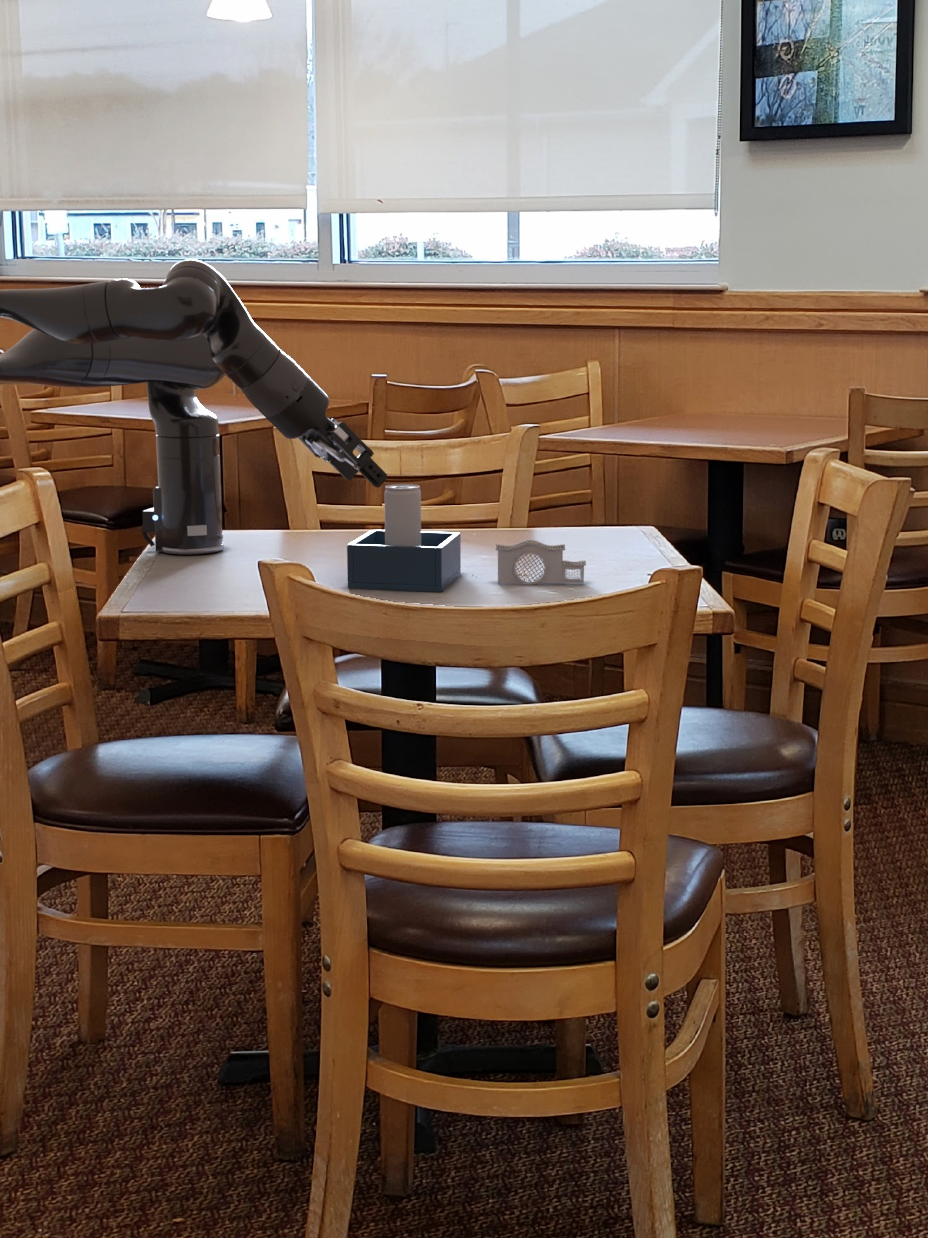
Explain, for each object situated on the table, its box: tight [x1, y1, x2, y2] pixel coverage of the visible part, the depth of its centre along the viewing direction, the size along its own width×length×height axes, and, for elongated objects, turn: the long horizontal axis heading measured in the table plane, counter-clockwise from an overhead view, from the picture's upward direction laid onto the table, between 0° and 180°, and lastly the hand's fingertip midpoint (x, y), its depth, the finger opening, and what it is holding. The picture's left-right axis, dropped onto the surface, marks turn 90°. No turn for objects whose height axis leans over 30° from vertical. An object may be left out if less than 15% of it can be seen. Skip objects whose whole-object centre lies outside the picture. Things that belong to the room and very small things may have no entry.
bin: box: [346, 529, 462, 593], centre depth 196 cm, size 13×13×6 cm
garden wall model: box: [495, 539, 587, 586], centre depth 195 cm, size 12×2×6 cm, turn 90°
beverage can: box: [384, 483, 422, 546], centre depth 196 cm, size 5×5×12 cm
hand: (367, 478), depth 191 cm, fingers open, 8 cm apart
